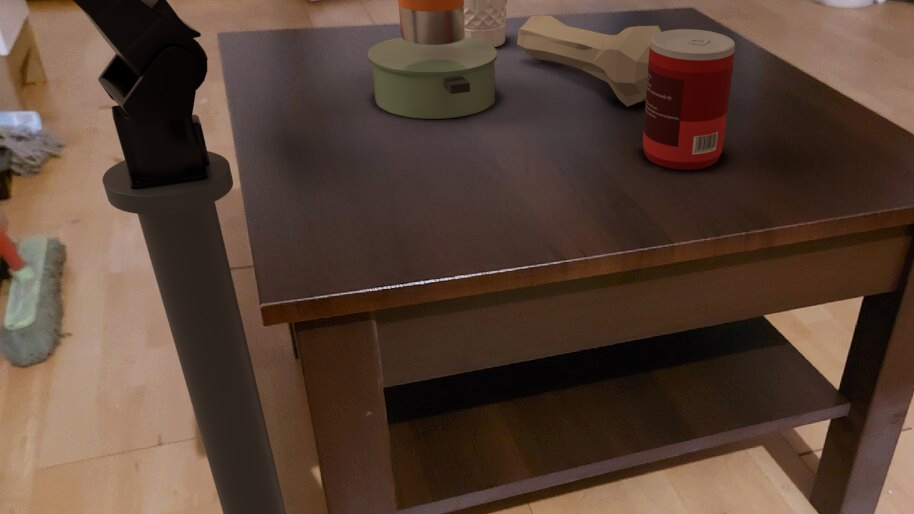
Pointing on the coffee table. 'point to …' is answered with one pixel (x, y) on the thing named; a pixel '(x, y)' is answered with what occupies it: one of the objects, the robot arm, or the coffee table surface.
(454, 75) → the pot
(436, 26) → the tin can
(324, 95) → the coffee table surface
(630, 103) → the faceted club
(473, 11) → the white cup
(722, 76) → the canned food
